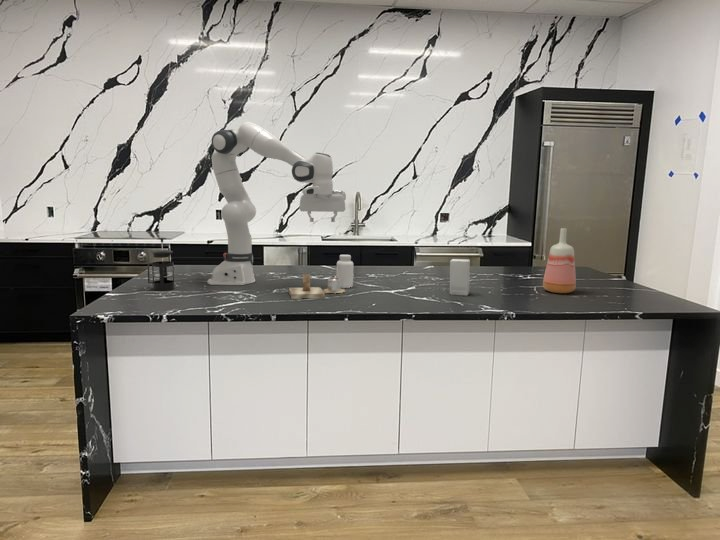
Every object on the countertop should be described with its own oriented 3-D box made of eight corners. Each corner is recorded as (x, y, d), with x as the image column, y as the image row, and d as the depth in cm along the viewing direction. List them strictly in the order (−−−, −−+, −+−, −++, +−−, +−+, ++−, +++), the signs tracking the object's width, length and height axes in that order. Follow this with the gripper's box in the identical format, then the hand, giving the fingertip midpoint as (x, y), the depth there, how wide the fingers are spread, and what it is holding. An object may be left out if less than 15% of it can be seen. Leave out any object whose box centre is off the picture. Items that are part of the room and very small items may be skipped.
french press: (177, 286, 251) (176, 236, 248) (174, 290, 242) (173, 238, 238) (150, 287, 249) (148, 236, 245) (146, 291, 240) (144, 239, 236)
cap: (325, 290, 247) (325, 277, 246) (334, 288, 251) (334, 276, 250) (333, 292, 243) (334, 279, 242) (342, 290, 247) (343, 278, 246)
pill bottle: (351, 288, 254) (351, 256, 252) (334, 287, 256) (334, 255, 253) (354, 285, 262) (355, 254, 260) (338, 284, 263) (338, 253, 261)
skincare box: (469, 293, 248) (471, 259, 246) (467, 296, 242) (469, 261, 240) (450, 292, 251) (452, 258, 249) (448, 294, 245) (449, 260, 242)
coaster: (324, 294, 241) (324, 292, 241) (321, 289, 251) (321, 288, 250) (346, 293, 243) (346, 292, 243) (342, 289, 253) (342, 287, 253)
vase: (561, 288, 265) (566, 226, 260) (582, 294, 252) (587, 229, 247) (535, 289, 260) (540, 227, 256) (555, 295, 247) (560, 229, 242)
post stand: (291, 298, 230) (291, 277, 229) (288, 292, 244) (288, 272, 242) (324, 298, 233) (324, 277, 232) (320, 291, 246) (320, 271, 245)
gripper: (344, 190, 247) (344, 221, 249) (298, 189, 242) (298, 221, 245) (347, 190, 241) (346, 222, 243) (300, 190, 236) (300, 222, 239)
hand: (322, 221), depth 244 cm, fingers open, 8 cm apart
